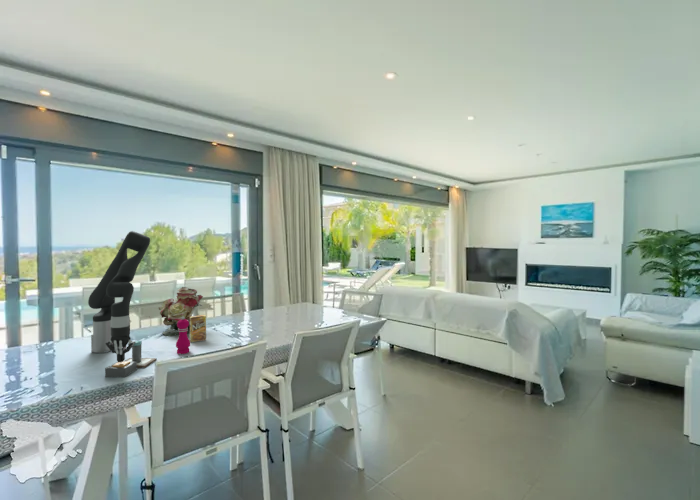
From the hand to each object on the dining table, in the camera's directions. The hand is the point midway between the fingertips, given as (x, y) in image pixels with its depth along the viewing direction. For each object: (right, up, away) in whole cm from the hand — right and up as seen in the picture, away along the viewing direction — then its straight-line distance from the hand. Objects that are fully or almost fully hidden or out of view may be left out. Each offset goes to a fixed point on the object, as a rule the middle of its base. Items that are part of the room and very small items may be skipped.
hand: (120, 361), depth 163 cm
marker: (0, -4, +12) cm, 13 cm away
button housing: (0, -6, 0) cm, 6 cm away
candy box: (+13, -4, +52) cm, 54 cm away
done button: (0, -5, 0) cm, 5 cm away
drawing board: (0, -5, +12) cm, 13 cm away
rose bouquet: (-7, -3, +73) cm, 74 cm away
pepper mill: (+15, -5, +31) cm, 34 cm away
